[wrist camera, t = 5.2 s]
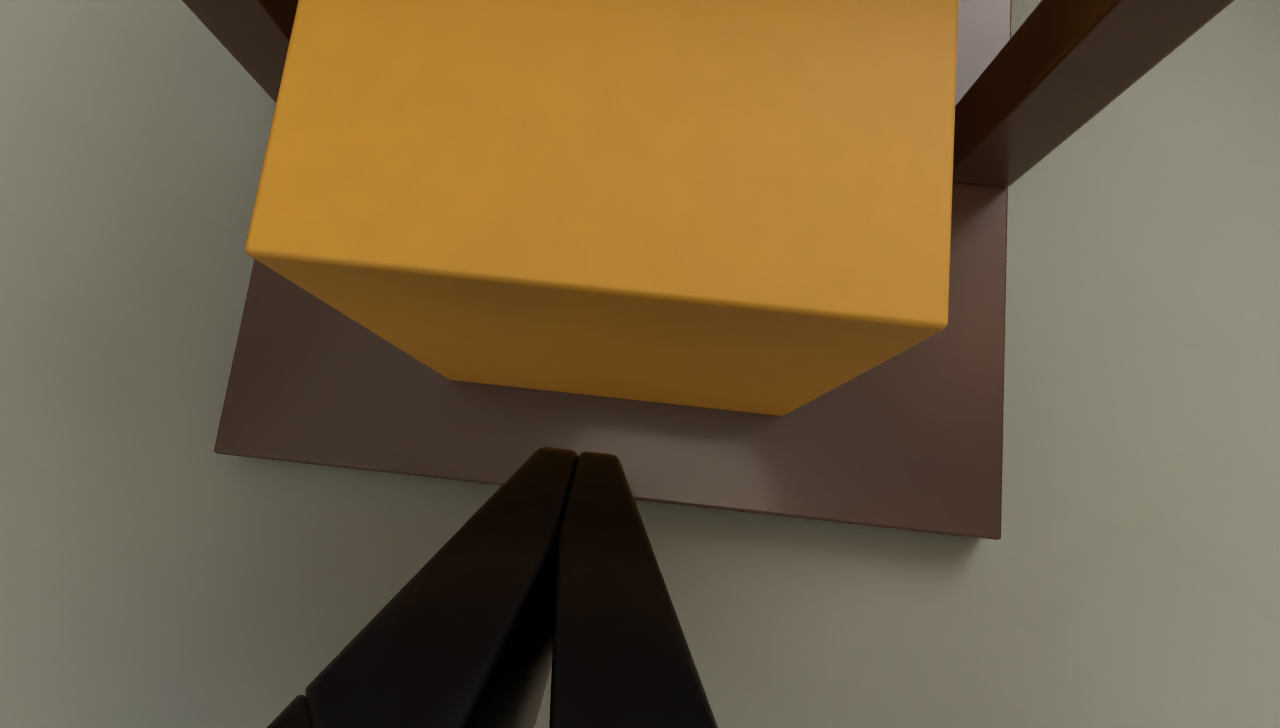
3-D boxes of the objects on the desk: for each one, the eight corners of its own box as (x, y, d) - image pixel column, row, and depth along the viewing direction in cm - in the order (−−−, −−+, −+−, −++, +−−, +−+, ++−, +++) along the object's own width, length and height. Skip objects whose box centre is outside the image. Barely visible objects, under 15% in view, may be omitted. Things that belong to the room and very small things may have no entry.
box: (785, 416, 15) (950, 329, 7) (446, 380, 15) (240, 253, 7) (816, -15, 17) (977, -469, 9) (514, -46, 17) (407, -520, 9)
